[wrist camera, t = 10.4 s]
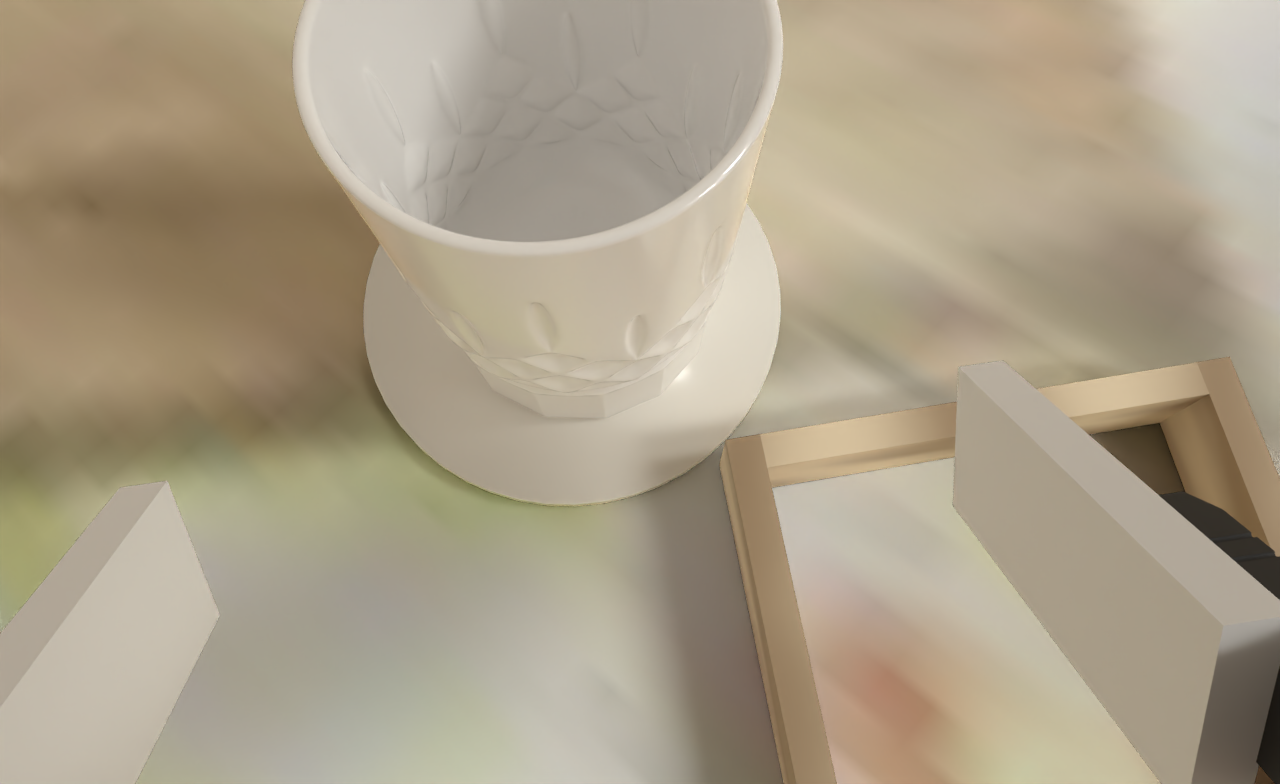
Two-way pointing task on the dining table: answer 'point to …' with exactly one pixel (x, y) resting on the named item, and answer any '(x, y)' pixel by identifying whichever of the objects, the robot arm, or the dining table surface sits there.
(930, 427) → the frame
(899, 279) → the dining table surface
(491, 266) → the white cup
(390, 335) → the coaster
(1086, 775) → the dining table surface
